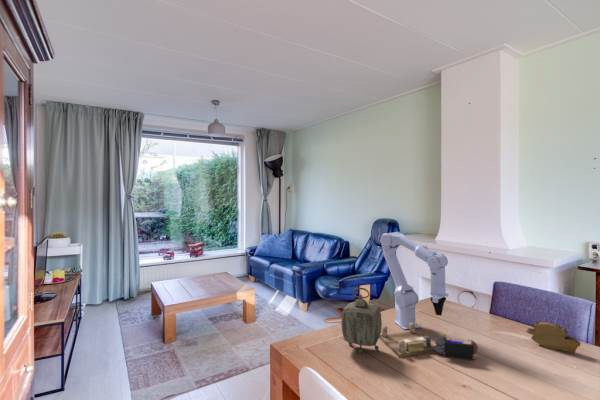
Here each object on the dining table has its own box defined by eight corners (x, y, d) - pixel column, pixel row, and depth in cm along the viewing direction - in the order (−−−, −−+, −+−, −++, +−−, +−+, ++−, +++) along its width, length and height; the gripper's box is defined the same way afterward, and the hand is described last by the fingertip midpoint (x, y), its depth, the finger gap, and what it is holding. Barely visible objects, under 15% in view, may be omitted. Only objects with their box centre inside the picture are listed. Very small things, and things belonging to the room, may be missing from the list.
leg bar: (427, 343, 127) (427, 335, 127) (432, 346, 124) (432, 338, 124) (402, 347, 124) (402, 339, 124) (406, 350, 122) (406, 342, 122)
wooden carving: (580, 352, 119) (580, 326, 119) (580, 357, 116) (579, 330, 116) (527, 340, 130) (526, 316, 130) (525, 344, 127) (525, 319, 127)
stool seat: (378, 338, 136) (378, 325, 136) (414, 333, 139) (414, 321, 139) (399, 357, 119) (398, 343, 119) (439, 351, 122) (438, 338, 122)
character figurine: (433, 350, 125) (476, 356, 119) (434, 357, 118) (480, 364, 112) (433, 330, 125) (476, 335, 120) (434, 336, 118) (479, 342, 113)
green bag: (382, 348, 126) (380, 286, 126) (377, 359, 118) (376, 293, 118) (347, 342, 132) (345, 283, 132) (340, 352, 124) (339, 289, 124)
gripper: (445, 288, 126) (446, 322, 126) (450, 280, 138) (451, 310, 138) (426, 286, 130) (427, 319, 130) (433, 278, 142) (434, 308, 142)
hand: (438, 314), depth 134 cm, fingers closed
